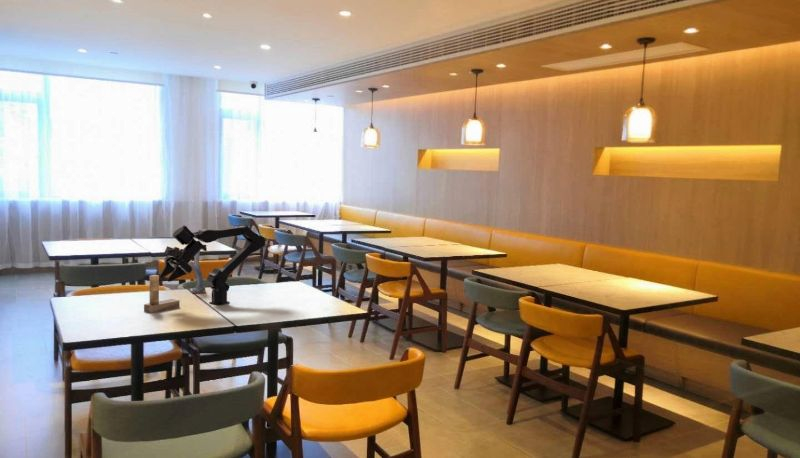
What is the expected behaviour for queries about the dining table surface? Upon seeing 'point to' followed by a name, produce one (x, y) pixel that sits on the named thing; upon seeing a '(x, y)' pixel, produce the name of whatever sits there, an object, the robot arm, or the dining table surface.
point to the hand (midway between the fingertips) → (164, 279)
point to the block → (161, 306)
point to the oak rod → (154, 289)
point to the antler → (197, 275)
